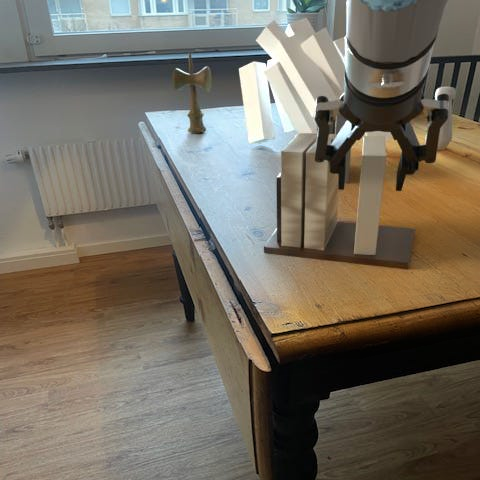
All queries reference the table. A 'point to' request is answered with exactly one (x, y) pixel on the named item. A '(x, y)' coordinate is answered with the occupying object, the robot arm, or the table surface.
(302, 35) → the pile of blocks
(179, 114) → the table surface
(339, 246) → the book board
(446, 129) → the salt shaker
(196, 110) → the kendama
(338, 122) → the grey books
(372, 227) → the white book
